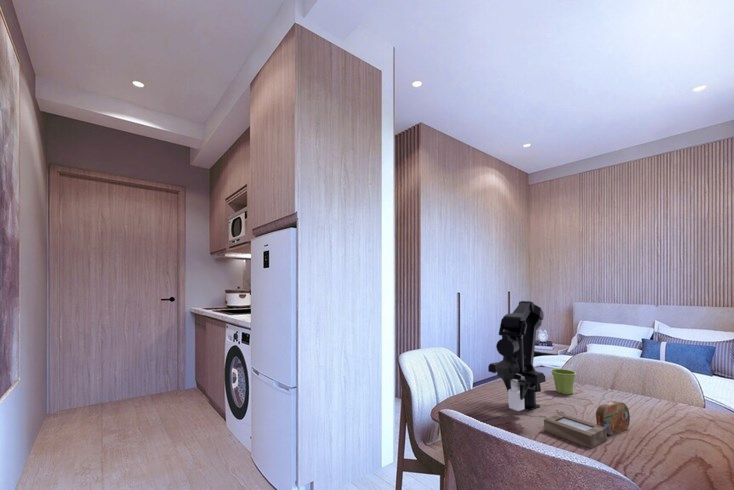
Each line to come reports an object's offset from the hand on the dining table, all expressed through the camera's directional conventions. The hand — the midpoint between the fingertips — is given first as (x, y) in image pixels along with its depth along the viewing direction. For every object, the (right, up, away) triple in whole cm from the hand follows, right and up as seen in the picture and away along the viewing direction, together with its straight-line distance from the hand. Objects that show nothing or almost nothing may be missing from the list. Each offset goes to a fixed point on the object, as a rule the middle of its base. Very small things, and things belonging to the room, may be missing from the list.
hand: (516, 397), depth 117 cm
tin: (+26, -6, -11) cm, 29 cm away
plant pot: (+32, -10, +26) cm, 43 cm away
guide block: (+11, -5, -15) cm, 19 cm away
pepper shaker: (0, -4, 0) cm, 4 cm away
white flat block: (+12, -3, -14) cm, 19 cm away
